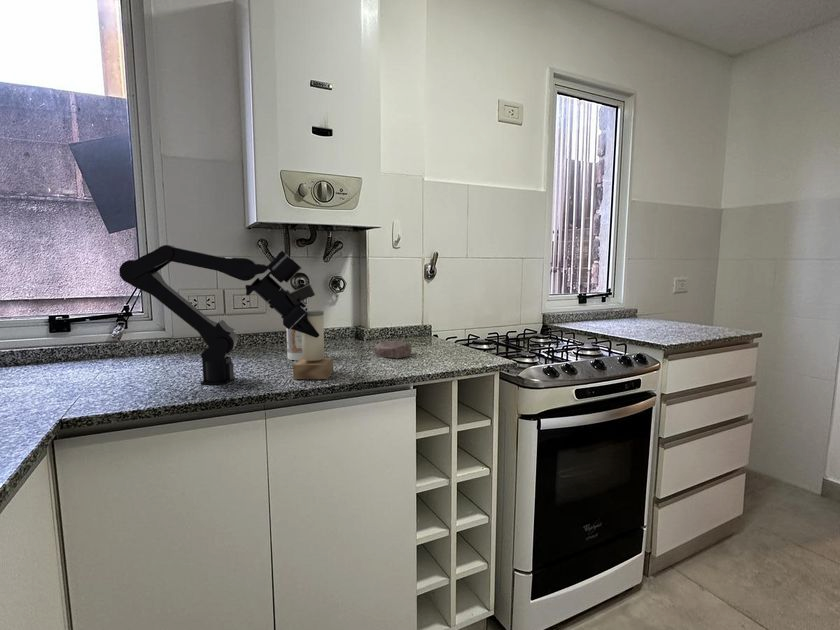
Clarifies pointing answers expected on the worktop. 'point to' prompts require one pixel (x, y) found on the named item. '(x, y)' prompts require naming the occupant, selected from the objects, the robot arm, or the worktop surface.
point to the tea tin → (314, 338)
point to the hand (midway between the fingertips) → (318, 334)
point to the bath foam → (294, 345)
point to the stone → (392, 349)
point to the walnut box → (313, 369)
